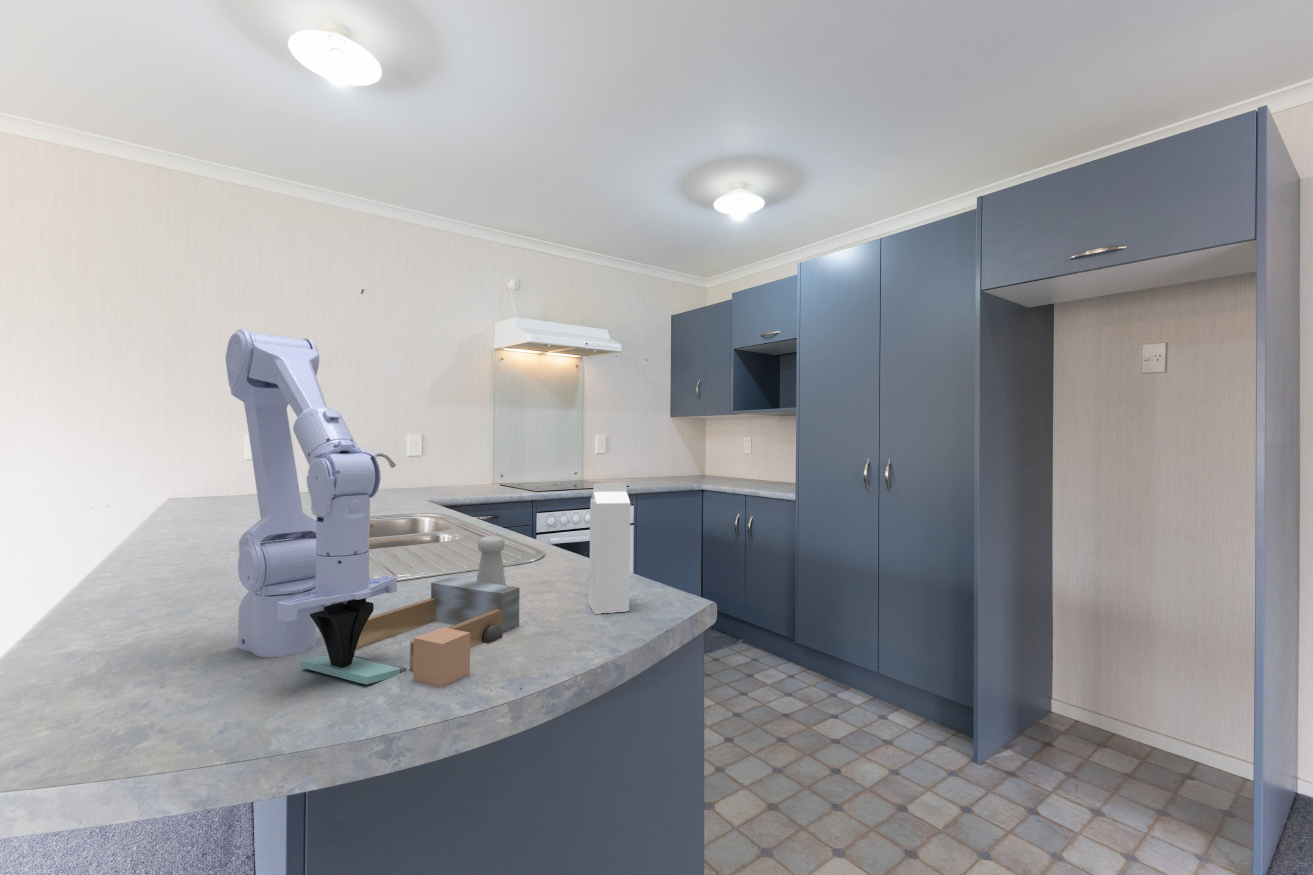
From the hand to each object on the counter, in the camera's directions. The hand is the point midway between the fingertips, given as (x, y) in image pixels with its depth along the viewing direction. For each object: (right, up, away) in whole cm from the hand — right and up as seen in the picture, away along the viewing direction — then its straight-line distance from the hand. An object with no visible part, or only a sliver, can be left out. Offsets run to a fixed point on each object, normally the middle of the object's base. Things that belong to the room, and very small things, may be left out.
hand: (341, 664), depth 72 cm
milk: (+30, -3, +32) cm, 44 cm away
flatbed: (+6, -2, +13) cm, 15 cm away
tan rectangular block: (+12, -2, -1) cm, 13 cm away
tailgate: (+2, -1, +3) cm, 4 cm away
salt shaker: (+10, -3, +28) cm, 30 cm away
